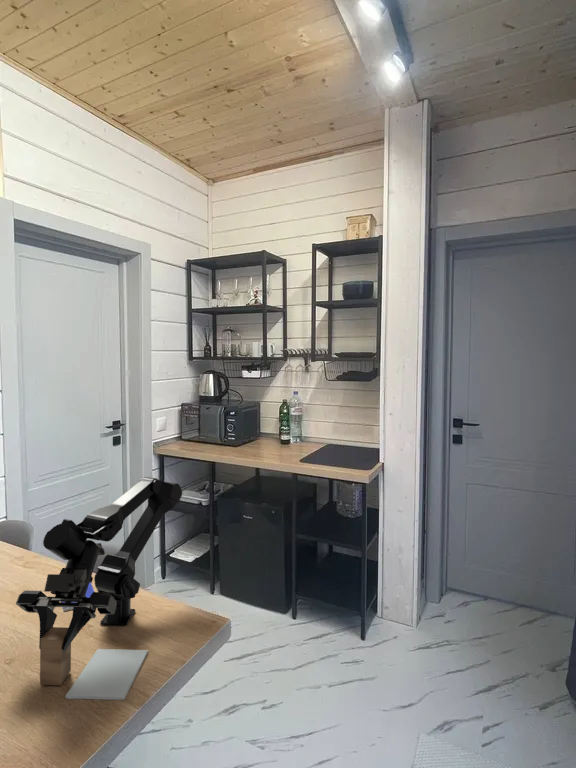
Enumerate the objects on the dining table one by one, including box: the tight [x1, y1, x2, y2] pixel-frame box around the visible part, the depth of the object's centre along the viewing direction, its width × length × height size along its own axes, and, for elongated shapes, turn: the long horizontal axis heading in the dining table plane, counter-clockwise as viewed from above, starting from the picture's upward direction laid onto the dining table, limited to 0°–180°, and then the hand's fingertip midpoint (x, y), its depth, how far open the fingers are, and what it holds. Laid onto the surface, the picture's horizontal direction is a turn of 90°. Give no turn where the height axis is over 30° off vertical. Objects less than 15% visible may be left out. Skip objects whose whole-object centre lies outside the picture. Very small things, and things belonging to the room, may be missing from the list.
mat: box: [65, 648, 149, 701], centre depth 89 cm, size 14×11×1 cm
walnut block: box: [39, 626, 72, 686], centre depth 87 cm, size 4×4×9 cm
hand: (52, 649), depth 86 cm, fingers closed on walnut block, 4 cm apart
